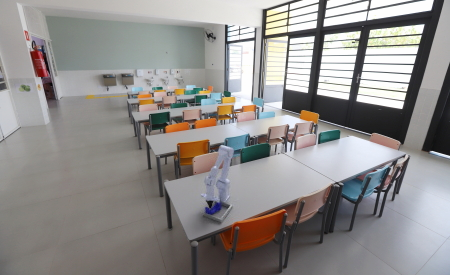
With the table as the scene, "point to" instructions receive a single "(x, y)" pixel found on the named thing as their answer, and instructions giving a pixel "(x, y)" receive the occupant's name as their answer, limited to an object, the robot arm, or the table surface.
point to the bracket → (223, 215)
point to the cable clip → (213, 209)
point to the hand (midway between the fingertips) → (210, 207)
